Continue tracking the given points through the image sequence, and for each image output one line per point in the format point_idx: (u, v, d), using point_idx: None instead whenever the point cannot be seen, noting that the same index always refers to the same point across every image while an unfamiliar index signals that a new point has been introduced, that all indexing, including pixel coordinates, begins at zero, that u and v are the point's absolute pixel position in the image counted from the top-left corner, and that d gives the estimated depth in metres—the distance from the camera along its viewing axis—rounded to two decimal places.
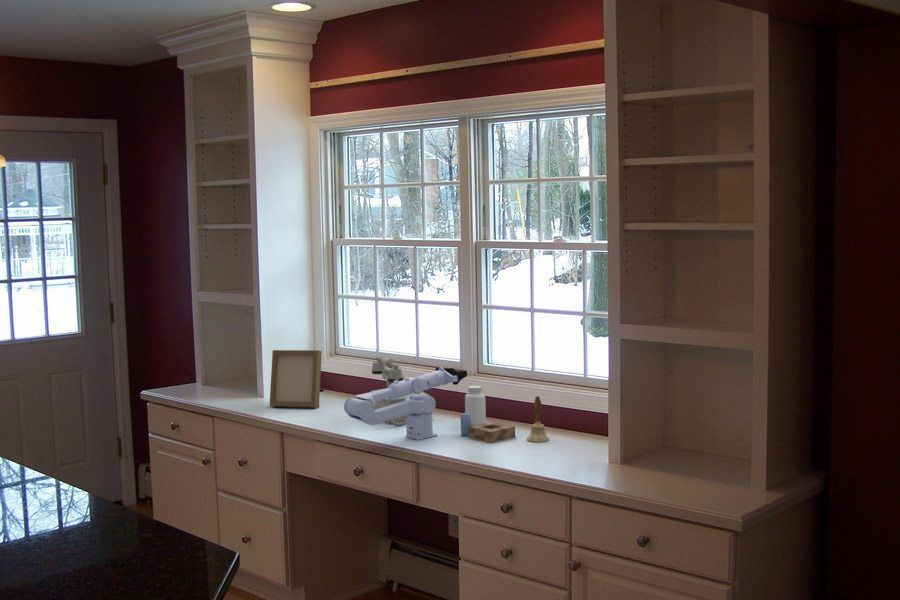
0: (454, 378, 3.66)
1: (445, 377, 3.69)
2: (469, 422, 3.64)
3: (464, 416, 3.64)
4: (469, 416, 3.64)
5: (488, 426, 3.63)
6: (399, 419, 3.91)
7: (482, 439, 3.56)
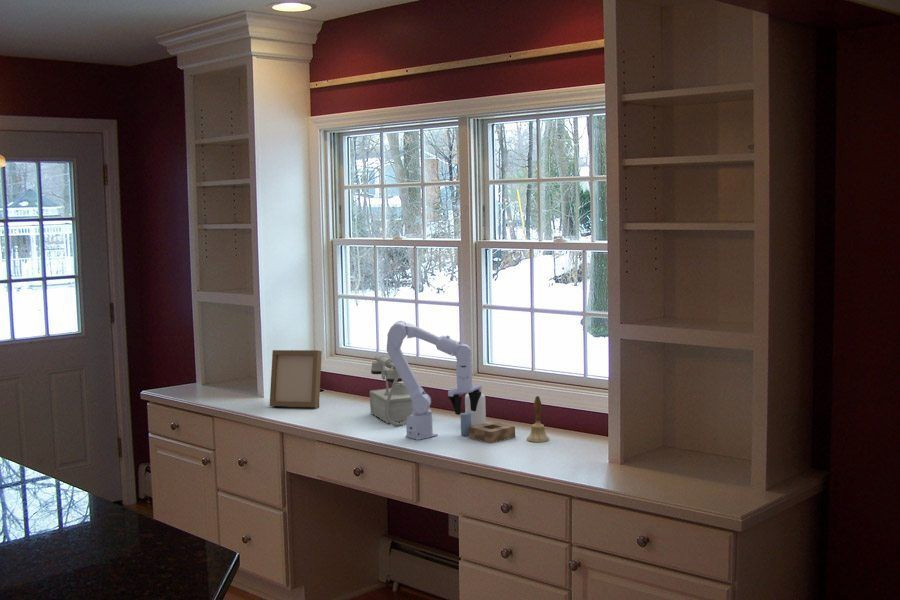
0: (450, 392, 3.60)
1: (459, 388, 3.62)
2: (469, 422, 3.64)
3: (464, 416, 3.64)
4: (469, 416, 3.64)
5: (488, 426, 3.63)
6: (398, 419, 3.91)
7: (482, 439, 3.56)
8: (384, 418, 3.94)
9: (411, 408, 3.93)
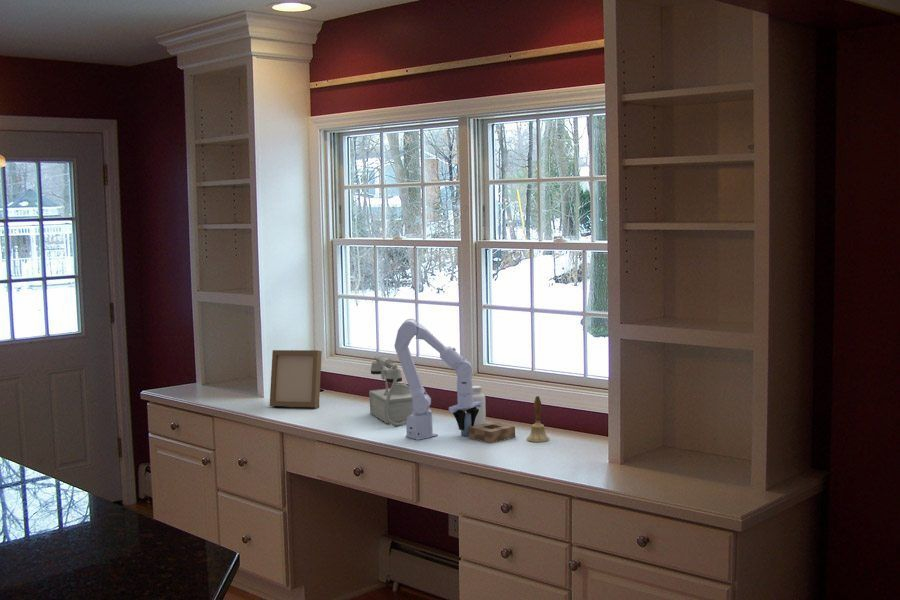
0: (450, 408, 3.60)
1: (460, 404, 3.63)
2: (469, 422, 3.64)
3: None
4: (469, 416, 3.64)
5: (488, 426, 3.63)
6: (397, 419, 3.91)
7: (482, 439, 3.56)
8: (383, 418, 3.94)
9: (410, 408, 3.93)
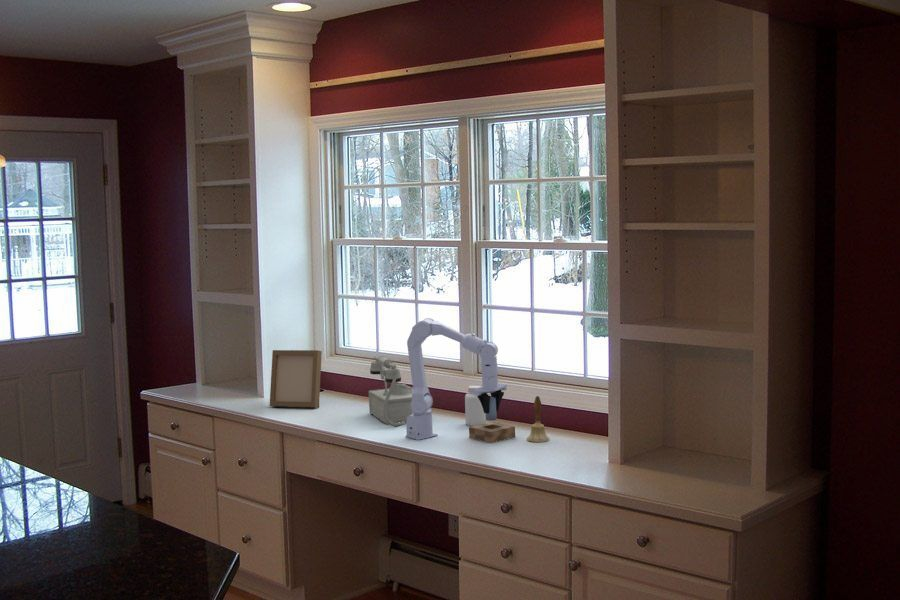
0: (475, 391, 3.55)
1: (484, 387, 3.57)
2: (494, 406, 3.59)
3: None
4: (494, 400, 3.58)
5: (488, 426, 3.63)
6: (397, 419, 3.91)
7: (482, 439, 3.56)
8: (383, 418, 3.93)
9: (410, 408, 3.93)
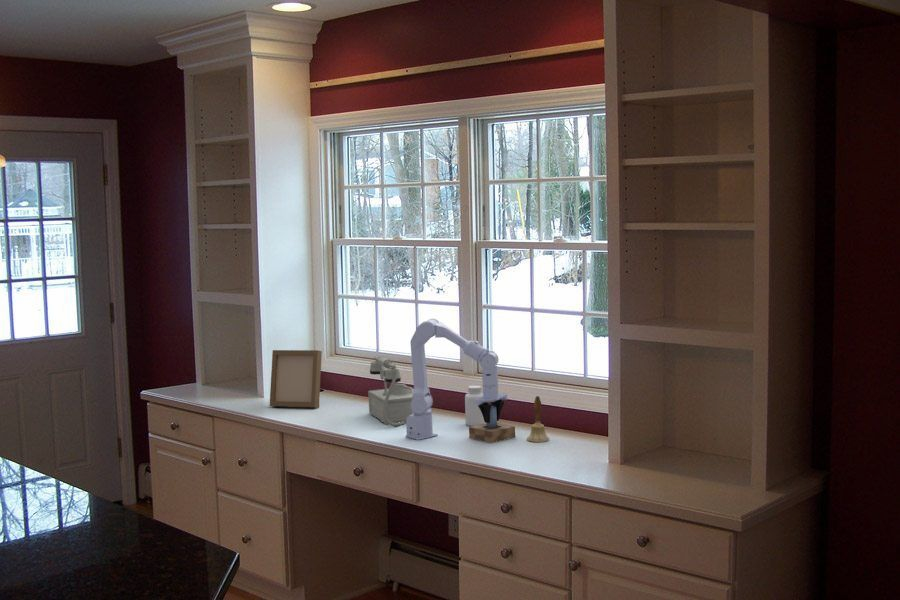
0: (476, 401, 3.55)
1: (485, 397, 3.57)
2: (495, 415, 3.59)
3: None
4: (495, 410, 3.59)
5: None
6: (396, 419, 3.91)
7: (482, 439, 3.56)
8: (382, 418, 3.93)
9: (409, 408, 3.93)
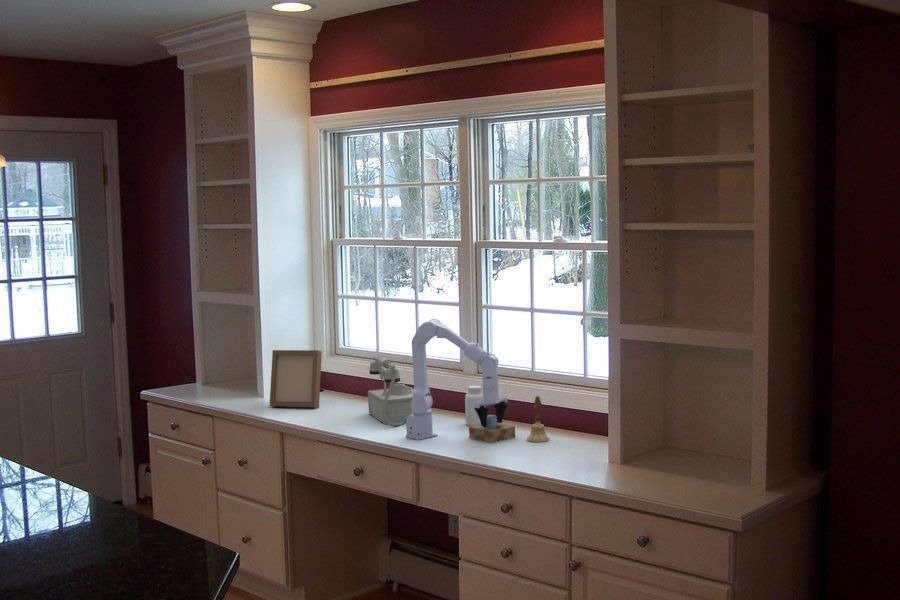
0: (476, 404, 3.55)
1: (485, 400, 3.58)
2: (495, 424, 3.59)
3: (490, 418, 3.58)
4: (495, 419, 3.59)
5: None
6: (396, 419, 3.90)
7: (482, 439, 3.56)
8: (382, 418, 3.93)
9: (409, 408, 3.93)
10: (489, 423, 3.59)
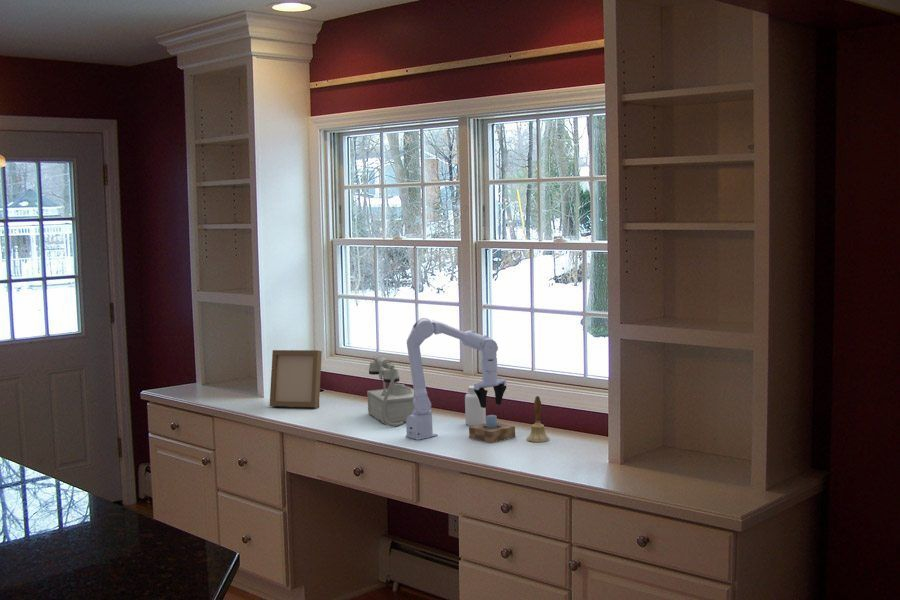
0: (476, 385, 3.64)
1: (485, 382, 3.66)
2: (495, 424, 3.59)
3: (490, 418, 3.58)
4: (495, 419, 3.59)
5: None
6: (395, 420, 3.90)
7: (482, 439, 3.56)
8: (381, 418, 3.93)
9: (408, 408, 3.92)
10: (489, 423, 3.59)
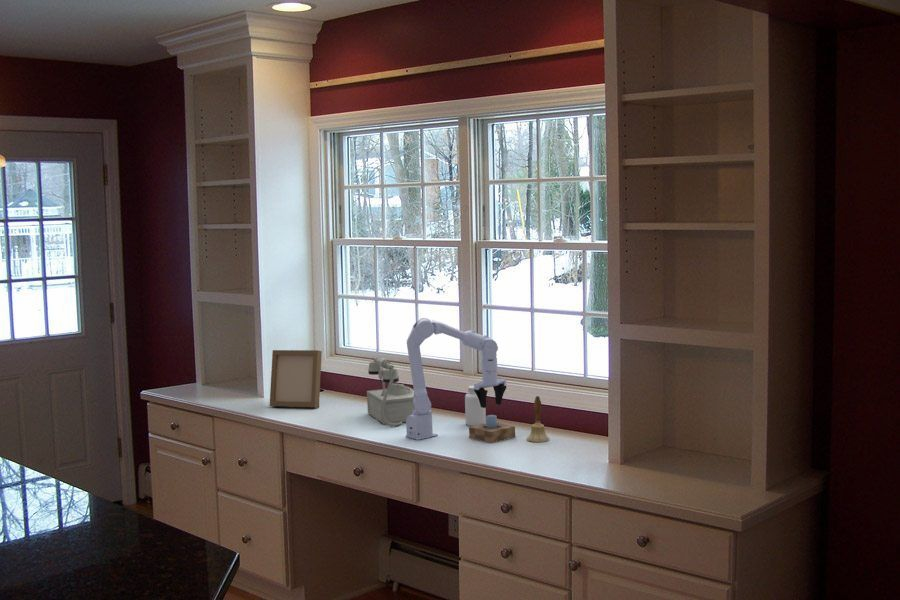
0: (476, 385, 3.64)
1: (485, 382, 3.66)
2: (495, 424, 3.59)
3: (490, 418, 3.58)
4: (495, 418, 3.59)
5: None
6: (394, 420, 3.90)
7: (482, 439, 3.56)
8: (380, 418, 3.93)
9: (407, 409, 3.92)
10: (489, 423, 3.59)
